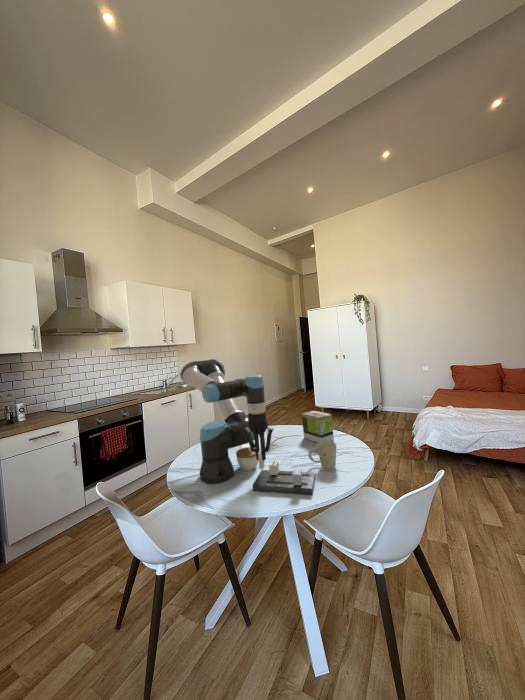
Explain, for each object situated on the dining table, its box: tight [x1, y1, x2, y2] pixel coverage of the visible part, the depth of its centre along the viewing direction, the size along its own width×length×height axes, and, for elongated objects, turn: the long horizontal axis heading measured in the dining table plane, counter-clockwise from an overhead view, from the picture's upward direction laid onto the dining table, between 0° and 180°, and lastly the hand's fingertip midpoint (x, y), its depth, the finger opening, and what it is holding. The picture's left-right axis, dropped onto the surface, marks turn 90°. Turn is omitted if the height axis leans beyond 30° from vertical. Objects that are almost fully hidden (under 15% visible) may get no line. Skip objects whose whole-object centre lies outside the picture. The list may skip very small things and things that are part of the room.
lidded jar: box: [235, 446, 259, 471], centre depth 130 cm, size 11×11×9 cm
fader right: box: [293, 469, 303, 485], centre depth 107 cm, size 3×4×4 cm
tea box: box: [301, 410, 335, 444], centre depth 160 cm, size 15×10×15 cm, turn 32°
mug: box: [308, 441, 337, 471], centre depth 125 cm, size 8×13×10 cm, turn 78°
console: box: [252, 469, 316, 496], centre depth 112 cm, size 23×13×3 cm, turn 74°
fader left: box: [268, 460, 280, 475], centre depth 117 cm, size 3×4×4 cm
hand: (262, 467), depth 118 cm, fingers closed
